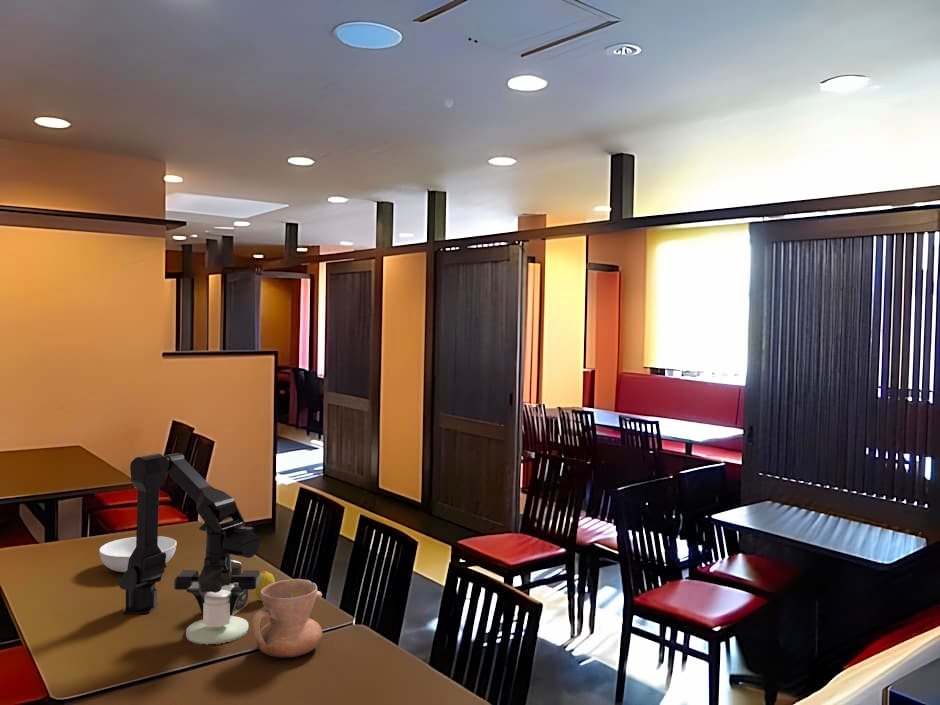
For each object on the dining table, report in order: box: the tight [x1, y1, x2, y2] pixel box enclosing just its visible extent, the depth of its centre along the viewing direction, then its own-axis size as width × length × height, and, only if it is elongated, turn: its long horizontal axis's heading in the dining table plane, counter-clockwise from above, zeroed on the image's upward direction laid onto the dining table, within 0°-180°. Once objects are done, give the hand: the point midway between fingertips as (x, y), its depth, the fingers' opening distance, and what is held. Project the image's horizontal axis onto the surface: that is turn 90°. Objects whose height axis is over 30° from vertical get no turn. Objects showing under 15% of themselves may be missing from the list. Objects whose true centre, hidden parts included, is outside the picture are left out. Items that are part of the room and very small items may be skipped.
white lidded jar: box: [202, 590, 233, 627], centre depth 171 cm, size 6×6×6 cm
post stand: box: [185, 615, 249, 646], centre depth 171 cm, size 14×14×6 cm
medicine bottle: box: [221, 559, 249, 616], centre depth 185 cm, size 7×7×12 cm
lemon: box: [253, 570, 276, 600], centre depth 190 cm, size 6×6×8 cm
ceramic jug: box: [251, 578, 323, 659], centre depth 162 cm, size 18×14×14 cm
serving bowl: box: [99, 535, 178, 573], centre depth 213 cm, size 21×21×7 cm
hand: (217, 615), depth 171 cm, fingers closed on white lidded jar, 6 cm apart
